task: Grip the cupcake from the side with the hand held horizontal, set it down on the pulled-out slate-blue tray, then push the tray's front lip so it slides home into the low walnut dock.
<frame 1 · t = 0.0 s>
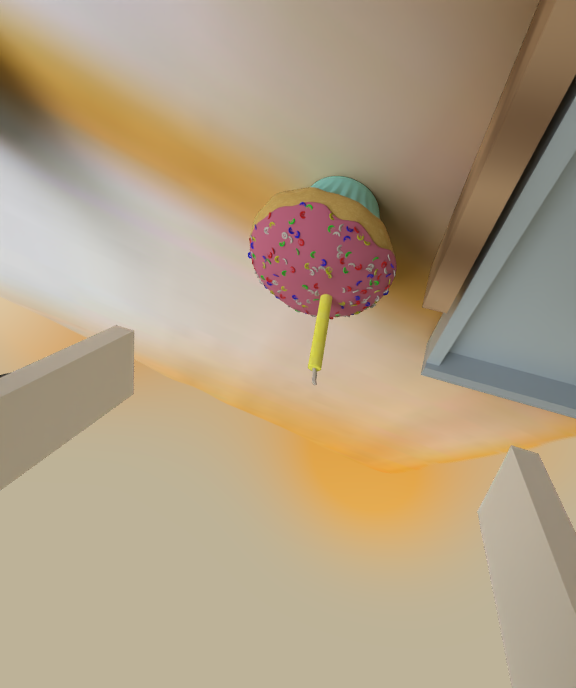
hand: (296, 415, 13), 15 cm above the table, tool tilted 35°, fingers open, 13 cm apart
cupcake: (341, 208, 25), on the table
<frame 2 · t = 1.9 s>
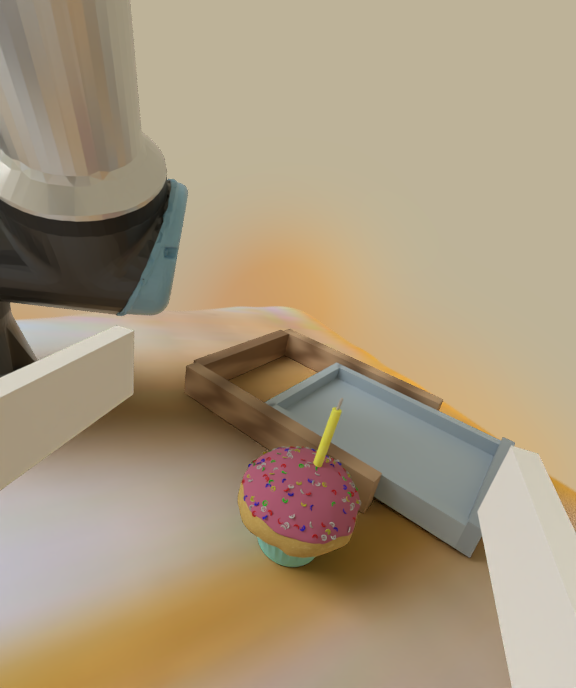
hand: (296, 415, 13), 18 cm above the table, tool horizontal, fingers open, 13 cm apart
dock: (296, 399, 47), on the table
tray: (386, 432, 41), point 2 cm above the table, slide at 8.0 cm
cupcake: (288, 541, 29), on the table
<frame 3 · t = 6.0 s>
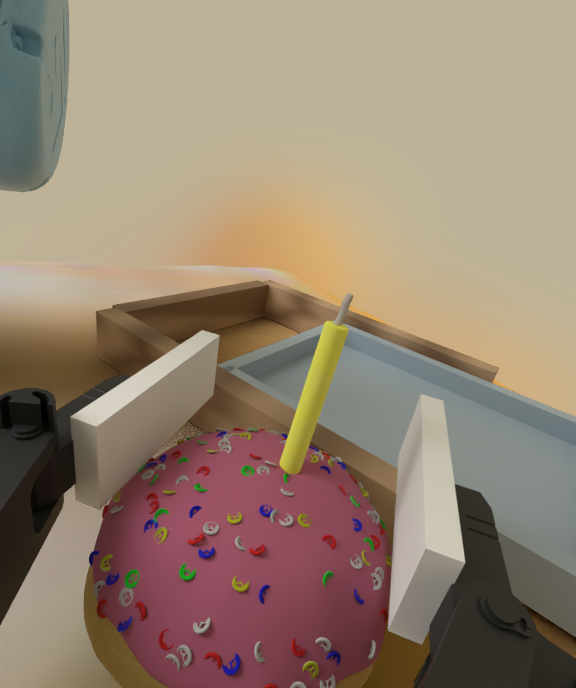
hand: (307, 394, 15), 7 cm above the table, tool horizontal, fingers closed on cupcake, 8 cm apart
dock: (275, 369, 31), on the table
tray: (418, 415, 25), point 2 cm above the table, slide at 8.0 cm
cupcake: (231, 637, 13), on the table, touching gripper
when the fingers open (10 cm above the table, at t = 10.1 s): cupcake drops 1 cm, resting on tray.
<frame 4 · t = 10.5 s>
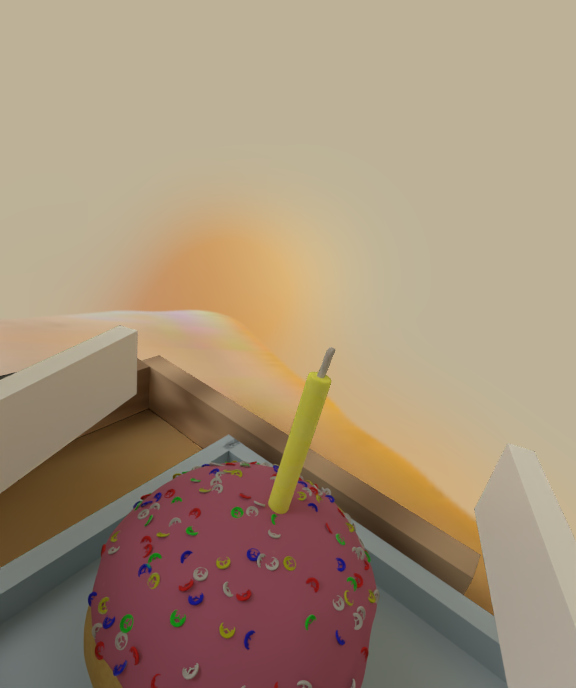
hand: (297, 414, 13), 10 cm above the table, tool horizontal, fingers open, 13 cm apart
dock: (105, 546, 18), on the table
cupcake: (226, 660, 14), point 1 cm above the table, touching tray
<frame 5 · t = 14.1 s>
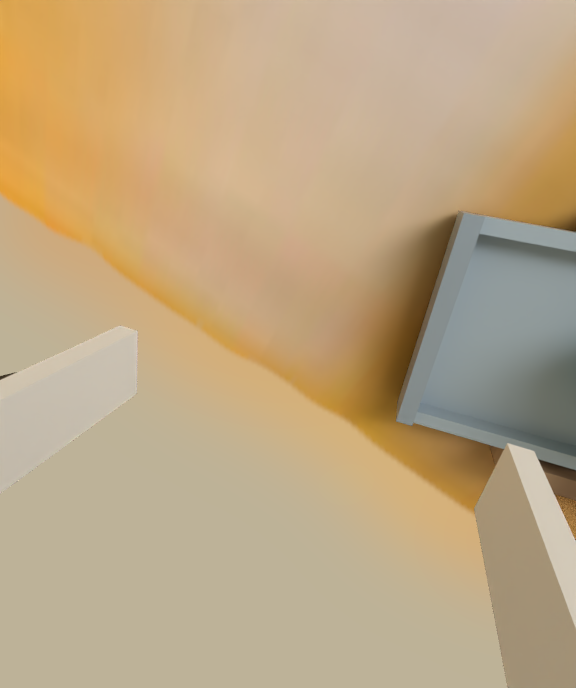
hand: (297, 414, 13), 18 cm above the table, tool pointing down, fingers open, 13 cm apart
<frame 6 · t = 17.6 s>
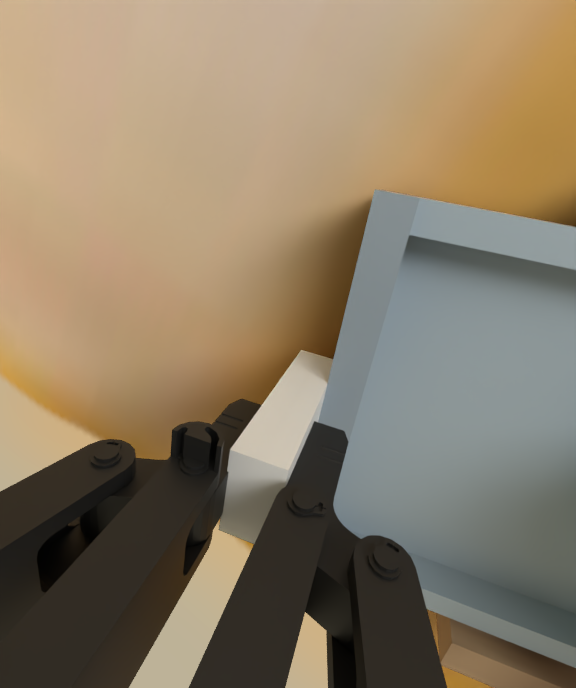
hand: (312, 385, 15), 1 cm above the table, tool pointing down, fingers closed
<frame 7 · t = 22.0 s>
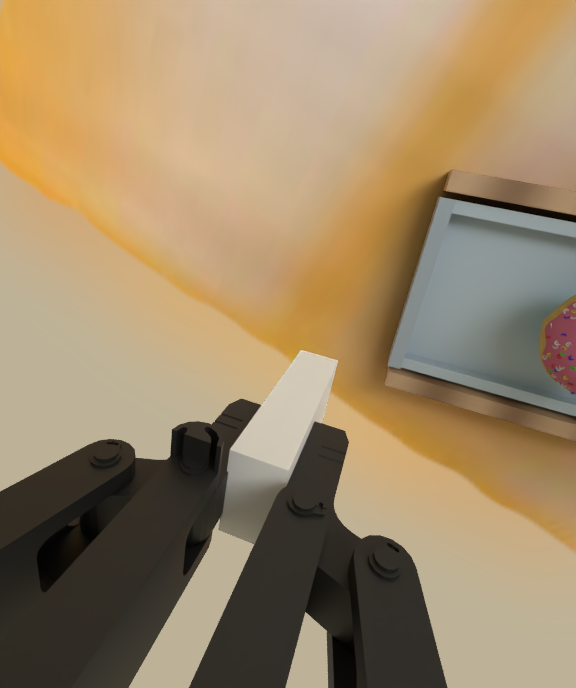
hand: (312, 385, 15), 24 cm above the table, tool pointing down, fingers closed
tray: (542, 316, 33), point 2 cm above the table, slide at 0.0 cm, touching cupcake
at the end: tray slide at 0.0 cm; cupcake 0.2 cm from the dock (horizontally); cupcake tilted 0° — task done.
